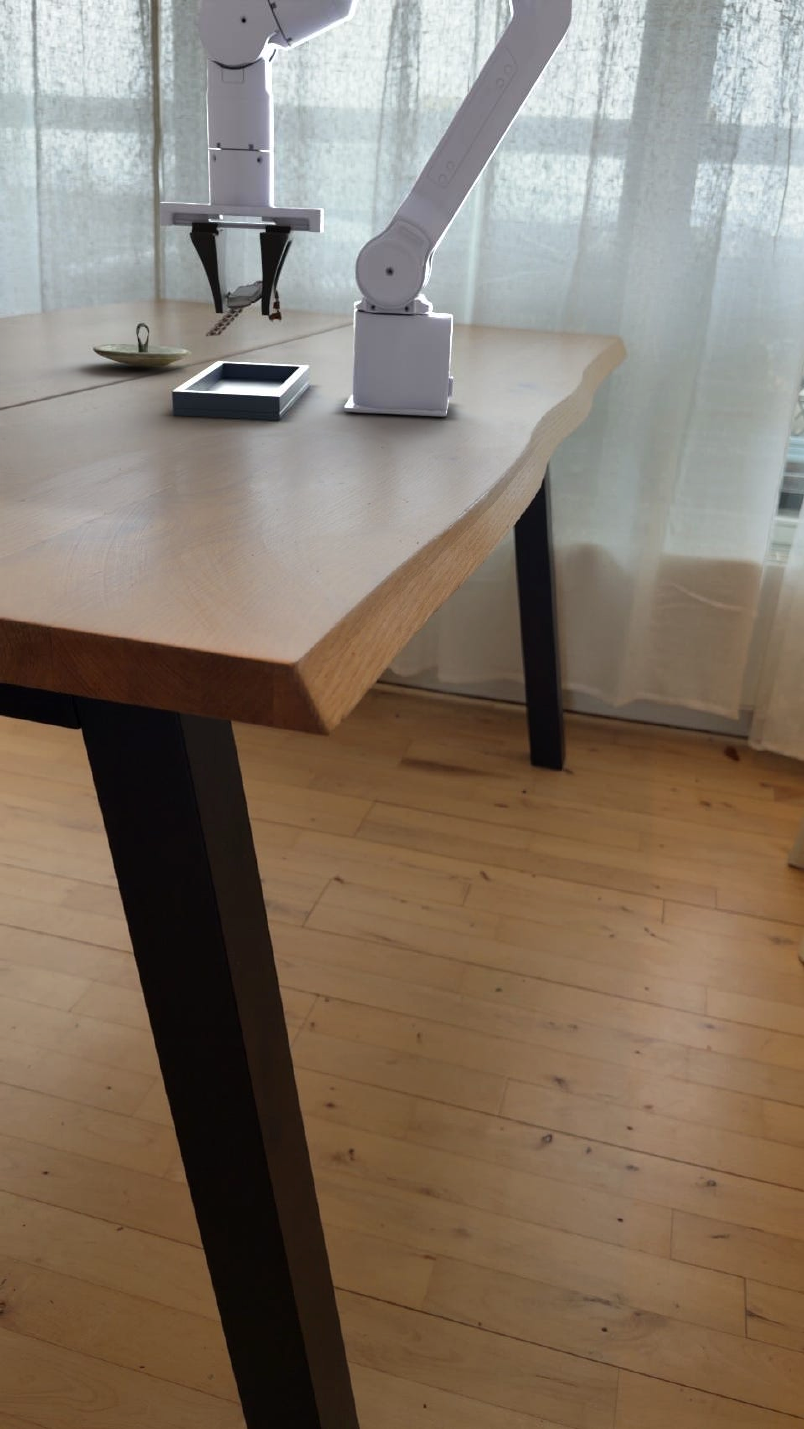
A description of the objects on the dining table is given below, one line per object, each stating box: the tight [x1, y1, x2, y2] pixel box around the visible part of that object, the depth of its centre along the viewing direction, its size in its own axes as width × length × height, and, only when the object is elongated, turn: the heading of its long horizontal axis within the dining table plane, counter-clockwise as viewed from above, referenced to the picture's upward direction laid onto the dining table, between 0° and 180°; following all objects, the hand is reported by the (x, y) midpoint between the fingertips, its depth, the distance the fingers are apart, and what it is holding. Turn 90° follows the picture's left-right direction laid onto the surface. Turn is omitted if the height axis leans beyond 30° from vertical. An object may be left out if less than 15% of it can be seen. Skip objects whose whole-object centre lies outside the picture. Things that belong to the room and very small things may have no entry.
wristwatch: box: [205, 279, 283, 337], centre depth 107 cm, size 4×14×5 cm, turn 162°
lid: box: [92, 322, 192, 368], centre depth 126 cm, size 11×10×5 cm
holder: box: [171, 361, 310, 421], centre depth 110 cm, size 20×10×2 cm, turn 177°
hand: (243, 313), depth 106 cm, fingers closed on wristwatch, 4 cm apart
